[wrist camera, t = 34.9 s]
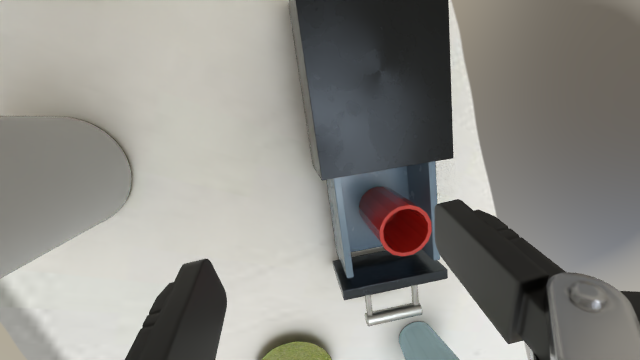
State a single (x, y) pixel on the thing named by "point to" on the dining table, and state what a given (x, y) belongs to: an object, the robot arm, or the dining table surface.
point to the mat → (297, 352)
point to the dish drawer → (380, 267)
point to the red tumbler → (395, 221)
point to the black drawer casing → (374, 82)
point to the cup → (423, 343)
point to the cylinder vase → (55, 184)
